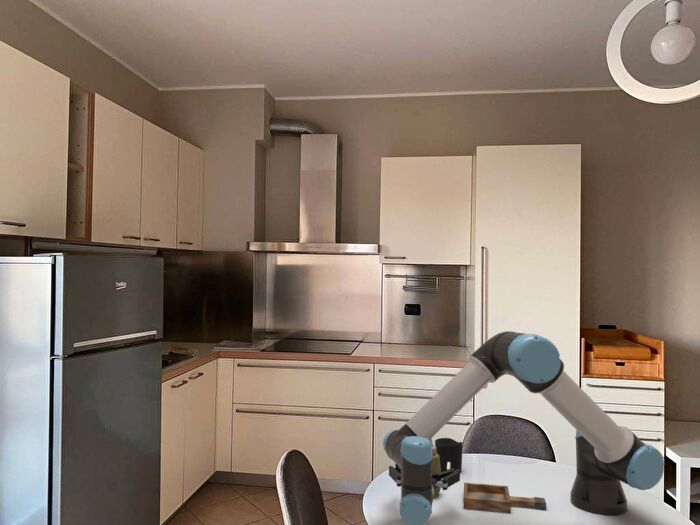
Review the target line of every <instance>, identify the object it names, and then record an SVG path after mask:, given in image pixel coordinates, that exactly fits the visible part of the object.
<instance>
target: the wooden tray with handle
mask: <svg viewBox="0 0 700 525" xmlns="http://www.w3.org/2000/svg"><path fill="white" fill-rule="evenodd" d="M513 507H514V508H524V509H533V510H538V509H539V510H540V511H546V510H547V502H546V498H545V497H537V496H533V497H524V496H523V497H522V496H511V495H510V490H509V486H508V485H502V484H501V485H500V484H489V483H488V484H485V483H477V482H476V483H475V482H464V481H463V509H464V510H474V511H483V510H484V512H494V513H504V512H507V513H506V514H511V513H512V510H511V509H512V508H513ZM539 510H538V511H539Z"/></svg>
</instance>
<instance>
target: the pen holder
mask: <svg viewBox="0 0 700 525" xmlns="http://www.w3.org/2000/svg"><path fill="white" fill-rule="evenodd" d="M434 446H436V453H437V454H438V455H439V457H440V467H441V472H444V471H447V463H448V462H450V468H454V472H455V471H460V473H461V472H462V470H463V468H462V467H463V441H459V442H458V441H456V440H455V439H453V438H450V437H440V438H437V439H435V441H434Z"/></svg>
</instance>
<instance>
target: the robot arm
mask: <svg viewBox="0 0 700 525" xmlns="http://www.w3.org/2000/svg"><path fill="white" fill-rule="evenodd" d="M560 357H561V353H560V352H559V349H558V347H557V346H556V345H555V344H554V343H553V342H552V341H551V340H550V339H549V338H546V337H544V336H542V335H538V334H535V333H523V332H516V331H511V330H510V331H509V330H508V331H502V332H499V333H497V334H495V335H493V336H491V337H490V338H489V339H488V340H487V341H485V342H484V343H483V344H481V345H480V346H479V347H478V348H477V349H476V350H474V352H473V353H472V354H470V355H469V357H468V363H467V364H465V366H463V368H461V369H460V371H459V372H457V373H456V374H455V375H454V376H453V377H452V378H450V380H449V381H448V382H446V384H445V385H444V386H443V387H442V388H441V389H440V390H439V391H438V392H436V394H435V395H434V396H432V397H431V398H430V399H429V400H428V401H427V402H426V404H424V405H423V406H422V407H421V408H420V409H419V410H418V411H416V413H415V414H414V415H413V416H411V418H410V419H409V420H408V421H407V422H406V423H404V425H403V426H401V427H400V428H399V429H393V430H389V431H388V432H387V433H386V434H385V436H384V439H383V441H382V445H383V450H384V452H385V454H386V455H387V457H388V458H389V459H390V460H392V461H393V462H394V463H395V466H392V465H389V466H388V475H389V477H390V478H391V480H393V481H394V482H395V483H396V486H397V487H400V502H399V508H398V509H399V510H398V512H399V515H400V518H401V520H402V521H403V522H404V523H405V524H406V525H426V524H427V523H428V522H429V521H430V520H429V519H430V517H431V515H432V513H433V510H432V508H433V501H434V498H435V497H434V491H435V488H437V486H439V487H441V489H442V491H447V490H448V488H450V487H451V486H453V485H455V484H456V483H459V482H460V481H461V472H460V471H455V472H454V468H450V462H448V463H447V471H444V472H441V473H437V474H436V473H432V447H431V442H430V439H431V438H433V437H434V436H436V434H437V433H438V432H439V431H440V430H441V429H443V428H444V427H445V426H446V425H447V424H448V422H450V421H451V420H452V419H453V417H455V416H456V415H457V414H459V412H460V411H461V410H462V409H463V408H464V407H465V406H466V405H467V404H468V403H469V402H471V400H472V399H473V398H474V397H475V396H476V395H478V393H480V391H482V389H484V387H486V386H487V385H488V384H494V383H495V382H497V380H498V379H500V378H502V376H505V375H508V376H512V377H514V378H515V379H516V380H518V381H519V383H520V384H521V385H522V386H524V388H525V389H526V390H527V391H528V392H530V393H531V394H540V396H542V397H543V398H544V399H545V400H546V401H547V402H548V403H549V404H550V405H551V406H552V408H554V409H555V410H556V411H557V412H558V413H559V414H560V415H561V416H562V418H564V419H565V420H566V421H567V422H568V423H569V424H570V425H571V426H572V427H573V428H574V429H575V430H576V431H575V438H574V439H575V450H576V451H575V454H576V457H575V458H576V460H575V462H576V474H575V475H576V476H575V477H574V478H575V479H574V482H573V485H572V487H571V490H570V503H572V505H574V506H575V507H577V508H579V509H580V510H583V511H586V512H590V513H593V514H594V513H595V514H600V515H609V516H610V515H615V516H616V515H620V514H625V513H626V512H627V511H628V499H627V497H626V494H625V491H624V489H623V486H622V483H623V484H626V485H628V486H629V487H630V488H633V489H636V490H641V491H646V490H651V489H653V488H654V487H656V485H658V483H660V481H661V479H662V478H663V475H664V471H665V468H664V467H665V461H664V460H665V459H664V457H663V454H662V453H661V452H660V450H659V449H657V448H656V447H654V446H653V445H651V444H647V443H645V442H643V441H642V440H641V439H640V438H639V437H638V436H637V435H636V434H635V433H634V432H633V431H632V430H631V429H630V428H628V427H627V426H623V425H618V424H617V423H616V422H615V421H614V420H613V419H612V418H611V417H610V416H609V415H608V414H607V413H606V412H605V411H604V410H603V409H602V408H601V407H600V406H599V405H598V403H596V402H595V401H594V400H593V399H592V398H591V397H590V396H589V395H588V394H587V393H586V392H585V391H584V389H582V387H580V386H579V384H578V383H576V382H575V381H574V380H573V379H572V377H570V376H569V374H567V373H566V372H565V363H564V362H563V361H562V359H561V358H560ZM621 482H622V483H621Z"/></svg>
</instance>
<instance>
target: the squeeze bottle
mask: <svg viewBox="0 0 700 525" xmlns="http://www.w3.org/2000/svg"><path fill="white" fill-rule="evenodd" d="M432 438H433V437H432ZM432 438H431V439H430V442H431V447H432V473H436V474H437V473H441V467H440V457H439V455H438V454H437V453H436V446H435V445H434V444H433V440H432ZM441 489H442V488H441V487H439V486H437V488H435V491H434V497H433V498H436V497H437V498H438V496H439V495H440V492H441Z"/></svg>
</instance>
